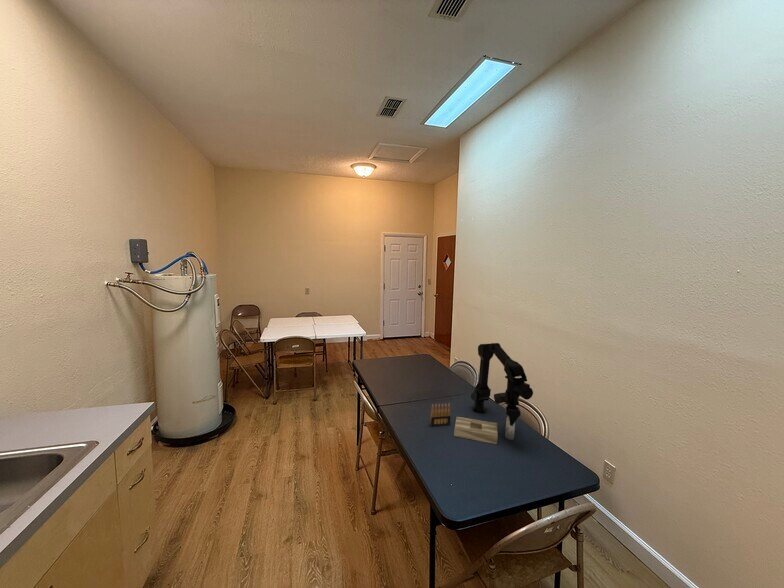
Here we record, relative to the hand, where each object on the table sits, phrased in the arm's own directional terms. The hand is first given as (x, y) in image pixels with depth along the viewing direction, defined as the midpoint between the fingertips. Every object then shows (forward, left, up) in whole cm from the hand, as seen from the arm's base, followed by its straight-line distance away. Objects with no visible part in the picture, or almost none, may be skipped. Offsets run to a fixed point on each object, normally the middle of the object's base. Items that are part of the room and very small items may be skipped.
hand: (510, 420), depth 155 cm
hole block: (+2, -16, -9) cm, 18 cm away
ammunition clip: (0, -34, -9) cm, 35 cm away
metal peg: (0, 0, -9) cm, 9 cm away
